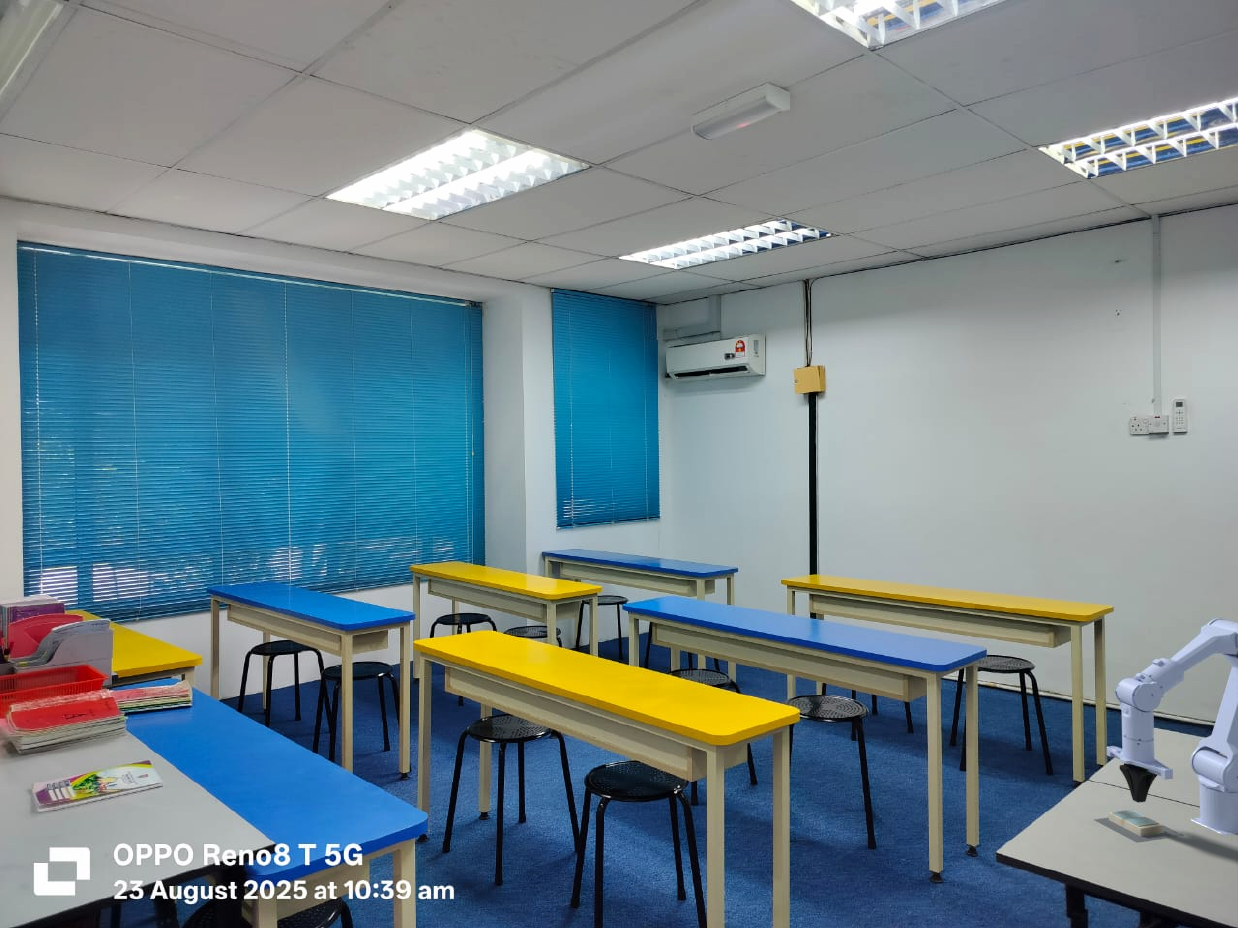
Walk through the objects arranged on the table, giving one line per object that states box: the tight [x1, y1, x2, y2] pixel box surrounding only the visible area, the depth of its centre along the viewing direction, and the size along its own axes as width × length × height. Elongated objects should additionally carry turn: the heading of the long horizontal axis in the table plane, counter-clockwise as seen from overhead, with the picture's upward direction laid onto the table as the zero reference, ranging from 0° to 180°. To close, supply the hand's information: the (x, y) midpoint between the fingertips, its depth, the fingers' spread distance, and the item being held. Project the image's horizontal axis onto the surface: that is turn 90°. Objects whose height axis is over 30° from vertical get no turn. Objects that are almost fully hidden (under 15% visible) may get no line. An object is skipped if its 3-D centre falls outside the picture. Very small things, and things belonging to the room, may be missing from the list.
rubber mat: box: [1093, 816, 1185, 843], centre depth 170 cm, size 12×11×1 cm
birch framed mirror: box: [1108, 809, 1165, 836], centre depth 171 cm, size 6×2×8 cm
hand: (1139, 800), depth 170 cm, fingers closed
